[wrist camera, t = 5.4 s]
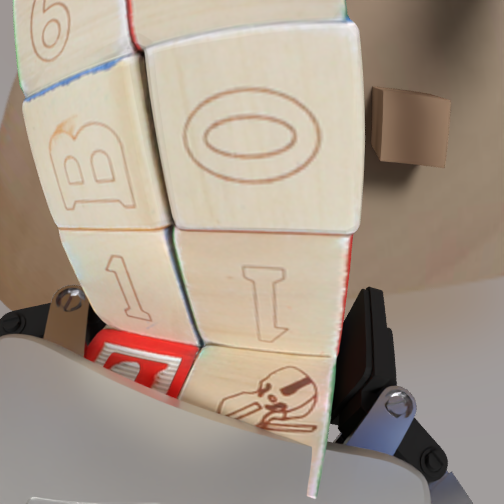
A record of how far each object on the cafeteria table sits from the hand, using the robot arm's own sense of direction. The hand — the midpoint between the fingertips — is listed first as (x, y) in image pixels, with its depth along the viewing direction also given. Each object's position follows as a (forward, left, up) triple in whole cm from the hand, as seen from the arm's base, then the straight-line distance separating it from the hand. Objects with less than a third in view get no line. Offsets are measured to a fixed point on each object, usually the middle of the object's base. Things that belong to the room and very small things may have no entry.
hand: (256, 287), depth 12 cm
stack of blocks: (0, 0, -5) cm, 5 cm away
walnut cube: (-7, -6, -18) cm, 20 cm away
